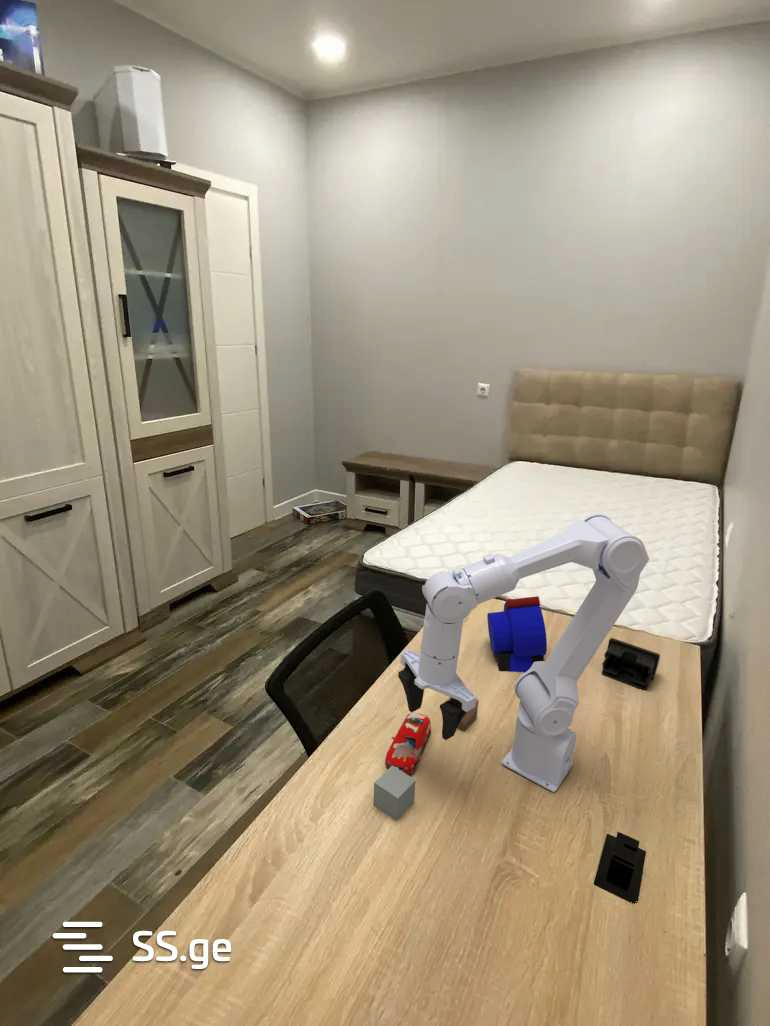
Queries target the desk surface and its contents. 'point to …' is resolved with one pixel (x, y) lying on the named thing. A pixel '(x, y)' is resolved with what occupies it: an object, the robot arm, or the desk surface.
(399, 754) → the race car
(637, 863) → the black open box
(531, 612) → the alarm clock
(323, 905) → the desk surface
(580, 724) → the desk surface
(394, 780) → the slate block
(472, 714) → the walnut block
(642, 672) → the black slotted holder
